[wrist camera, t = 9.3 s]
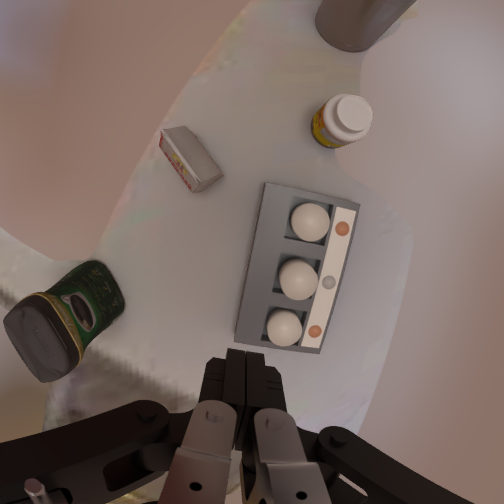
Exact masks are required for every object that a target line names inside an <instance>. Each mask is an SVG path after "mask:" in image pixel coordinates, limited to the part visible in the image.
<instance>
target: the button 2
mask: <svg viewBox="0 0 504 504" xmlns="http://www.w3.org/2000/svg"><path fill="white" fill-rule="evenodd" d="M289 221H290V226H291V228H292V230H293V231H294V232H295V233H296V234H297V235H298V236H299V237H300V238H301V239H303V240H305V241H317V240H319V239H321V238H322V237H324V236H325V234H326V233H327V231H328V229H329V225H330V220H329V216H328V214H327V212H326V211H325V209H324V208H322V207H321V206H319V205H316V204H313V203H307V202H306V203H301V204H299V205H297V206H296V207H295V208H294V209H293V210H292V212H291V214H290V219H289Z"/></svg>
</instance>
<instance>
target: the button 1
mask: <svg viewBox="0 0 504 504" xmlns="http://www.w3.org/2000/svg"><path fill="white" fill-rule="evenodd" d="M266 323H267V331H268V336H269V339H270V340H271V341H272V342H273V343H274V344H276V345H278V346H290V345H292V344H294V343H295V342H297V341H298V340H299V338H300V337H301V334H302V326H301V323H300V320H299V318H298V315H297V313H296V312H295V311H294V310H293V309H288V308H282V307H279V308H276V309H274V310H273V311H271V312H270V314H269V315H268V317H267V321H266Z"/></svg>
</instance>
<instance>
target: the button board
mask: <svg viewBox="0 0 504 504" xmlns="http://www.w3.org/2000/svg"><path fill="white" fill-rule="evenodd" d="M306 202H307V203H313V204H316V205H319V206H321V207H322V208H324V209H325V211H326V212H327V214H328V216H329V220H330V225H329V229H328V231H327V233H326V234H325V236H324V237H322V238H321V239H319V240H317V241H305V240H303V239H301V238H300V237H299V236H298V235H297V234H296V233H295V232H294V231H293V230H292V228H291V226H290V221H289V219H290V214H291V212H292V210H293V209H294V208H295V207H296V206H297V205H299V204H301V203H306ZM359 208H360V204H358V203H354V202H350V201H346V200H342V199H338V198H334V197H330V196H325V195H321V194H317V193H313V192H308V191H304V190H299V189H295V188H290V187H286V186H281V185H276V184H271V183H265V184H264V189H263V194H262V199H261V204H260V209H259V214H258V219H257V224H256V229H255V234H254V239H253V244H252V249H251V254H250V259H249V264H248V269H247V274H246V279H245V284H244V289H243V294H242V299H241V304H240V309H239V313H238V318H237V323H236V328H235V336H234V342H237V343H243V344H249V345H255V346H262V347H268V348H275V349H282V350H289V351H297V352H305V353H313V354H320V351H321V348H322V345H323V342H324V339H325V335H326V332H327V329H328V326H329V323H330V319H331V316H332V313H333V309H334V306H335V303H336V299H337V296H338V292H339V289H340V285H341V281H342V278H343V274H344V270H345V267H346V263H347V259H348V255H349V251H350V247H351V243H352V239H353V235H354V230H355V226H356V222H357V217H358V213H359ZM295 258H298V259H303V260H305V261H306V262H308V263H309V264H310V266H311V267H312V268H313V270H314V271H315V272H316V274H317V277H318V286H317V289H316V291H315V292H314V293H313V294H312V295H311V296H310V297H309V298H307V299H304V300H293V299H291V298H289V297H287V296H286V295H285V294H284V292H283V290H282V288H281V284H280V281H279V271H280V268H281V267H282V265H283V264H284V263H285V262H287V261H288V260H291V259H295ZM279 307H282V308H288V309H293V310H294V311H295V312H296V313H297V315H298V318H299V320H300V323H301V326H302V334H301V337H300V338H299V340H298V341H297V342H295V343H294V344H292V345H290V346H278V345H276V344H274V343H273V342H272V341H271V340H270V339H269V336H268V331H267V323H266V321H267V317H268V315H269V314H270V312H271V311H273V310H274V309H276V308H279Z"/></svg>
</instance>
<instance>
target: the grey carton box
mask: <svg viewBox="0 0 504 504" xmlns="http://www.w3.org/2000/svg"><path fill="white" fill-rule="evenodd" d="M163 130H164V132H165V134H166V135H164V134H163V133H162V132H161V131H160V132H161V138H160V143H159V147H160V148H161V150H162V151H163V152H164V154H165V155H166V157H167V158H168V159H169V161H170V162H171V164H172V165H173V166H174V168H175V169H176V171H177V172H178V174H179V175H180V176H181V178H182V179H183V181H184V182H185V183H186V185H187V186H188V188H189V189H190V190H191V192H192V193H197V192H201V191H202V190H204V189H205V188H207V187H208V186H209V185H211V184H212V183H213V182H215V181H216V180H218V179H219V178H220V177H222V176H223V173H222V172H221V170H220V169H219V168H218V166H217V165H216V164H215V162H214V161H213V159H212V158H211V157H210V155H209V154H208V152H207V151H206V150H205V148H204V147H203V146H202V144H201V143H200V141H199V140H198V139H197V137H196V136H195V135H194V133H192V132H191V131H190V130H189V129H188V128H187V127H186V126H181V127H176V128H171V129H163Z"/></svg>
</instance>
